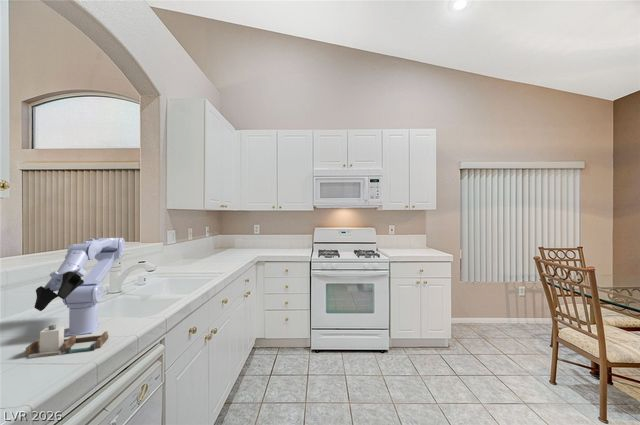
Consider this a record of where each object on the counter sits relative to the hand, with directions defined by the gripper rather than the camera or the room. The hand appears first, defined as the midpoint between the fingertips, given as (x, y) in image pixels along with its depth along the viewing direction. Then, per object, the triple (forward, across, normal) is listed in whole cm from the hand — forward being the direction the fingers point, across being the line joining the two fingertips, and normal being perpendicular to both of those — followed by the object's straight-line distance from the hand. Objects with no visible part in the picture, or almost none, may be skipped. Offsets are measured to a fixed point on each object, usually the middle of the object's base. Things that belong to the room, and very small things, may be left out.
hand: (49, 303), depth 88 cm
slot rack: (+4, -6, +14) cm, 16 cm away
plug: (+4, -10, +12) cm, 16 cm away
